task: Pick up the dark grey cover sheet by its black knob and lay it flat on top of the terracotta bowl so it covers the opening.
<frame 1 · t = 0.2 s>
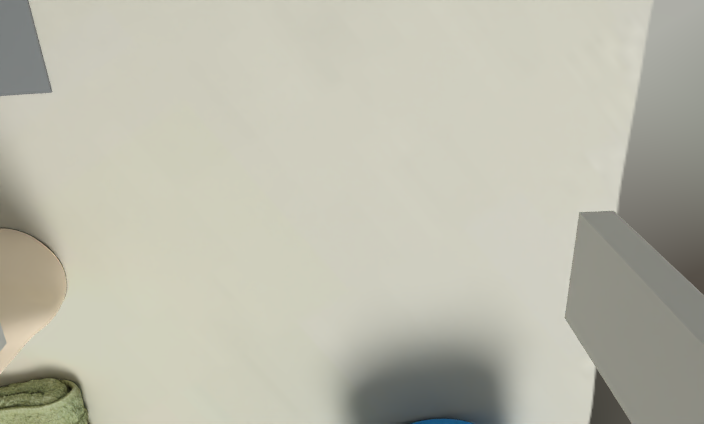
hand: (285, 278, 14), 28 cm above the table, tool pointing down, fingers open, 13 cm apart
water bottle: (3, 274, 44), on the table
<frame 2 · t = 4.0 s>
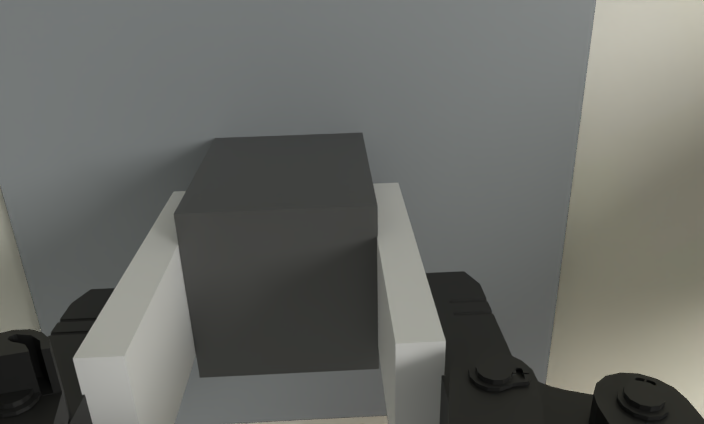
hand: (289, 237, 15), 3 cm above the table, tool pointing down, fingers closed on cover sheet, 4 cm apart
cover sheet: (294, 192, 18), on the table, touching gripper
when the fingers open (10 cm above the table, at t = 9.6 s): cover sheet drops 1 cm, resting on bowl.
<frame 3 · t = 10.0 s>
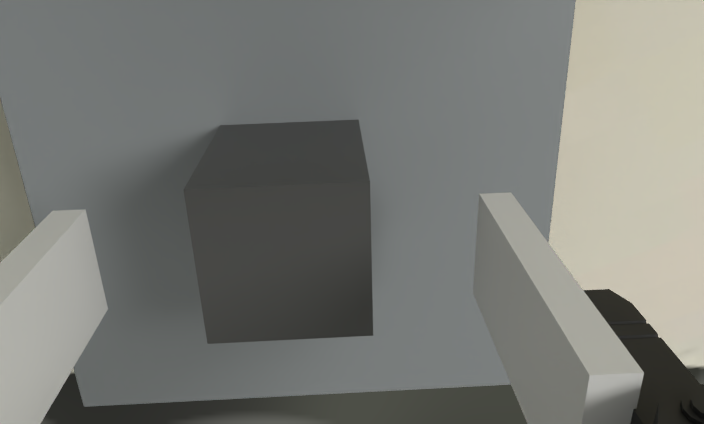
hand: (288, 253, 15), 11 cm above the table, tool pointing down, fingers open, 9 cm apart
cover sheet: (295, 177, 19), point 6 cm above the table, touching bowl
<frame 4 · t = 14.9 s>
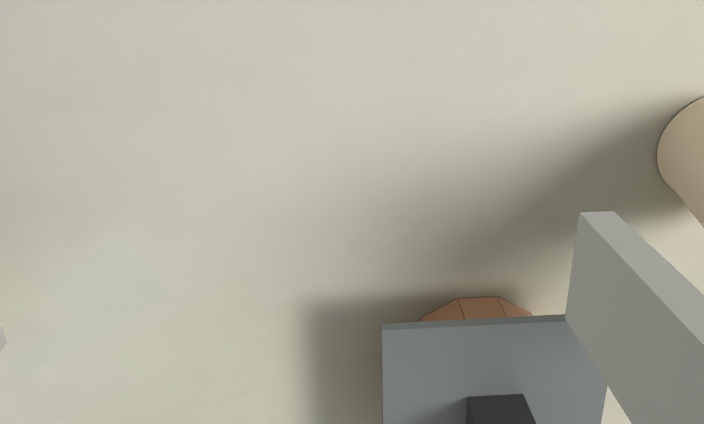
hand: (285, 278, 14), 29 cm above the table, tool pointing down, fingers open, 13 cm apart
bowl: (473, 358, 50), on the table
cover sheet: (490, 409, 45), point 6 cm above the table, touching bowl
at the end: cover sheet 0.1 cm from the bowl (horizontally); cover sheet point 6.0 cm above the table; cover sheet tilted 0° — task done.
